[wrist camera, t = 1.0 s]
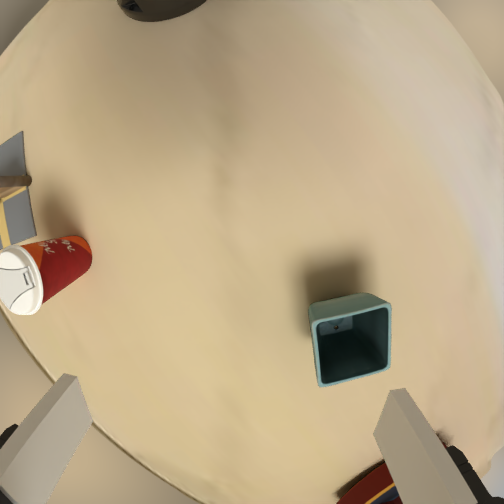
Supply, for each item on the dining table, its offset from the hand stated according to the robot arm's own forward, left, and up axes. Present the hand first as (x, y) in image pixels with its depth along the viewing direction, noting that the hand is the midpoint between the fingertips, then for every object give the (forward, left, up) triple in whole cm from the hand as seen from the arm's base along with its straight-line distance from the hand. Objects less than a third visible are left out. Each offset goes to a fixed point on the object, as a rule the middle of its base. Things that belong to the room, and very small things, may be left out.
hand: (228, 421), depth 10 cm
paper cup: (-6, -23, -26) cm, 35 cm away
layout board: (-19, -38, -26) cm, 50 cm away
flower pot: (+9, +10, -26) cm, 30 cm away
